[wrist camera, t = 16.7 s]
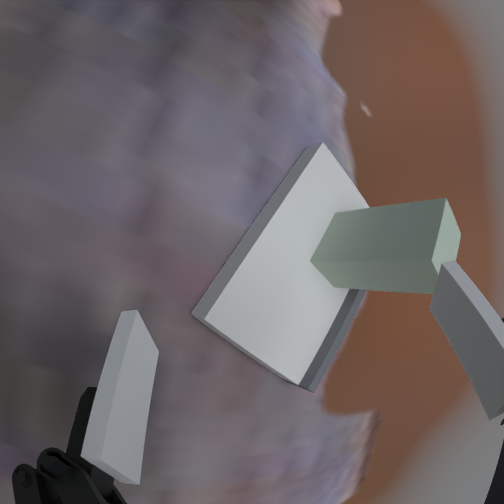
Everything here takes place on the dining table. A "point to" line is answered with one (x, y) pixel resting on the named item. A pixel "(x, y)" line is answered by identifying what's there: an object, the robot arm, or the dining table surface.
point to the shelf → (287, 277)
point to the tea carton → (389, 247)
